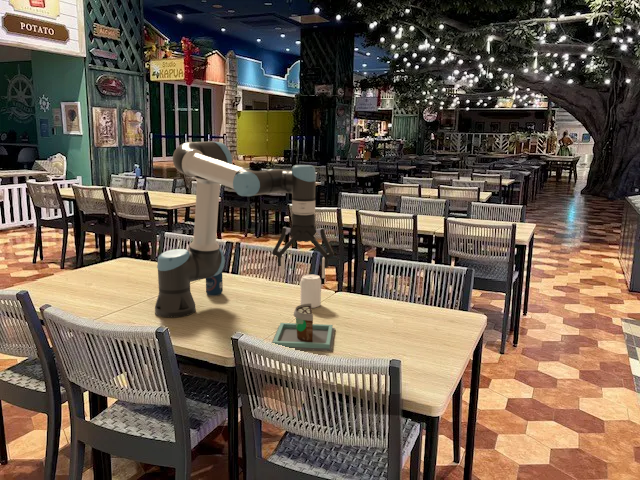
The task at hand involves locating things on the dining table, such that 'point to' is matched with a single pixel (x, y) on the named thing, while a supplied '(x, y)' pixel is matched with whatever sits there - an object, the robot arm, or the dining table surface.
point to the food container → (304, 322)
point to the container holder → (320, 341)
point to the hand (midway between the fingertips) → (302, 276)
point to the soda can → (214, 285)
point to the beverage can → (311, 290)
